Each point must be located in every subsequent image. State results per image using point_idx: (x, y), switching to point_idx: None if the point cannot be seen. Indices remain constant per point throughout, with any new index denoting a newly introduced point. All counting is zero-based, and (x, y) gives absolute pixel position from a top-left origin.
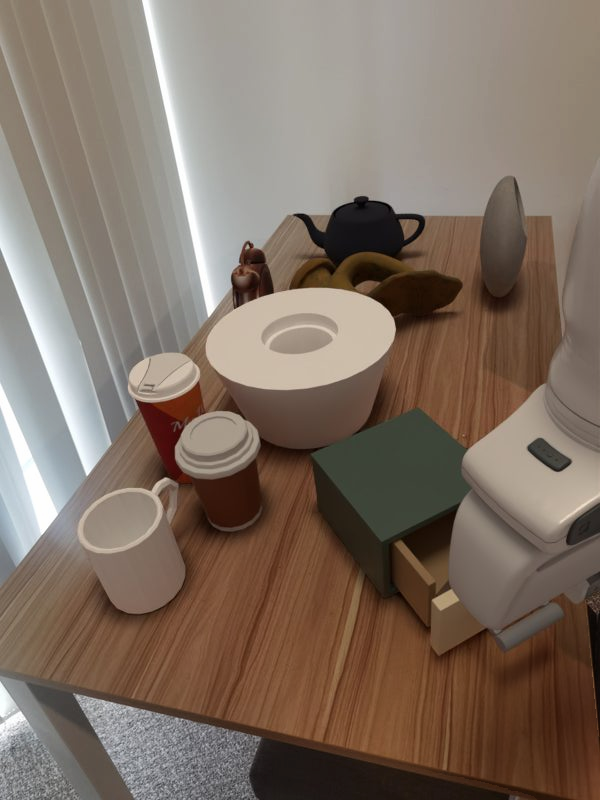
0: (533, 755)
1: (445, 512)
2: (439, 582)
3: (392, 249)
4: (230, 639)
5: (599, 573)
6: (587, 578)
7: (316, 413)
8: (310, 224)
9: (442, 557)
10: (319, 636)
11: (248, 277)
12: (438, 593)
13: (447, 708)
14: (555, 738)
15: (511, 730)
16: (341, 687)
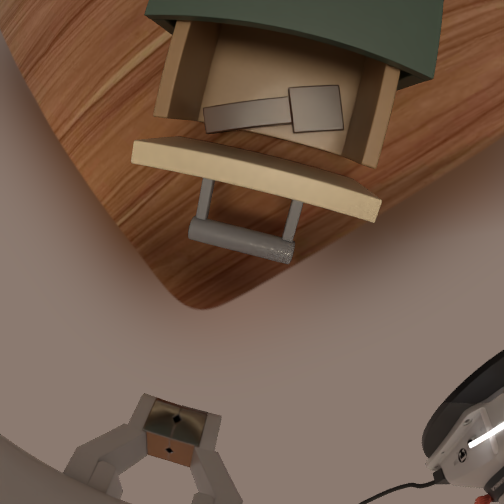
0: (180, 272)
1: (290, 32)
2: (247, 86)
3: None
4: (59, 16)
5: (181, 460)
6: (155, 451)
7: None
8: None
9: (285, 63)
10: (110, 50)
11: None
12: (206, 108)
13: (150, 193)
14: (207, 279)
15: (182, 248)
16: (91, 110)
